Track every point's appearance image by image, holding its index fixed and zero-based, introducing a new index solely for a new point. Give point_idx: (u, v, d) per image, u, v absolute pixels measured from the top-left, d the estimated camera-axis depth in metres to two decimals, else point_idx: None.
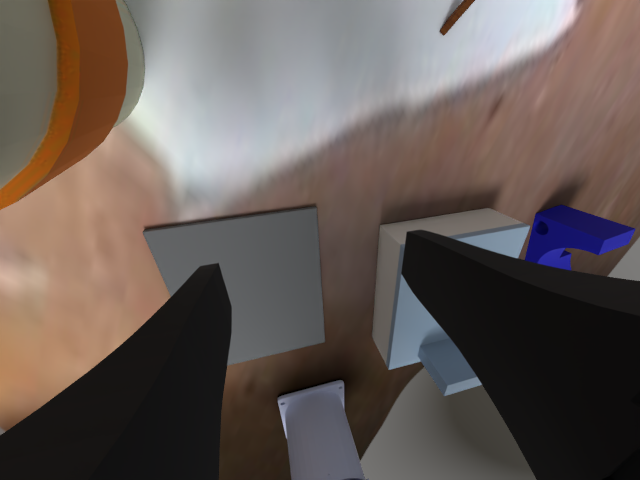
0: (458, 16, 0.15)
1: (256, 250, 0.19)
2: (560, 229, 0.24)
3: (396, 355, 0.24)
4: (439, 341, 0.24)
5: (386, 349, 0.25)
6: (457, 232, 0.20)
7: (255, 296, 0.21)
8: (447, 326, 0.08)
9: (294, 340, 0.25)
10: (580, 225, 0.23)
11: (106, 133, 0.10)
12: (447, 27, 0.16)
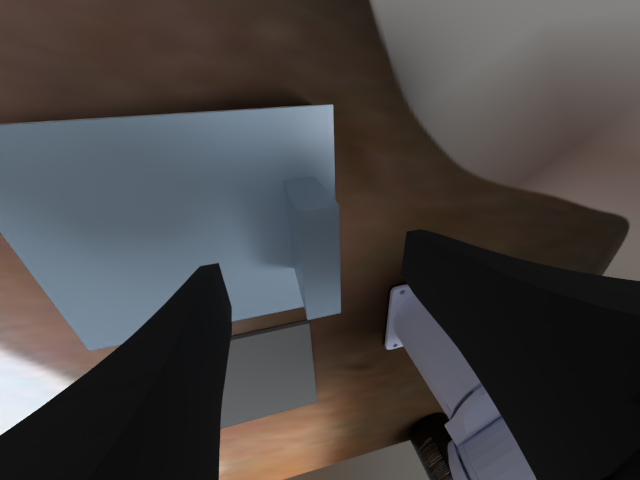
0: None
1: None
2: None
3: None
4: (289, 237, 0.13)
5: None
6: None
7: (231, 386, 0.23)
8: (447, 326, 0.08)
9: (297, 350, 0.23)
10: None
11: None
12: None
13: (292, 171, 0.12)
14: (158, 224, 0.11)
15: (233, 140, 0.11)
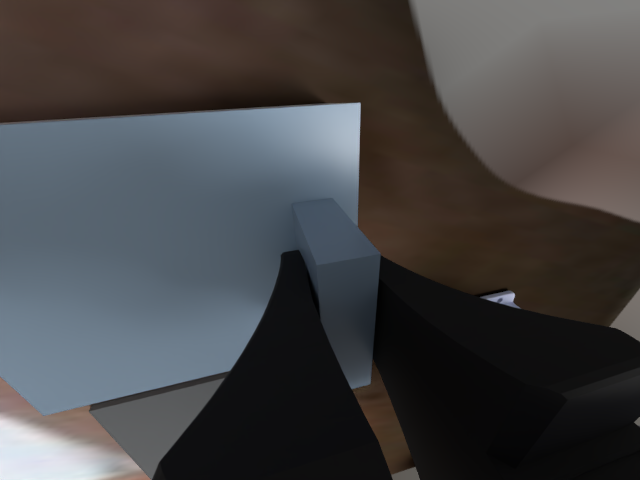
0: None
1: (163, 436, 0.19)
2: None
3: None
4: None
5: None
6: None
7: None
8: None
9: None
10: None
11: None
12: None
13: (303, 191, 0.09)
14: (124, 263, 0.09)
15: (224, 152, 0.08)
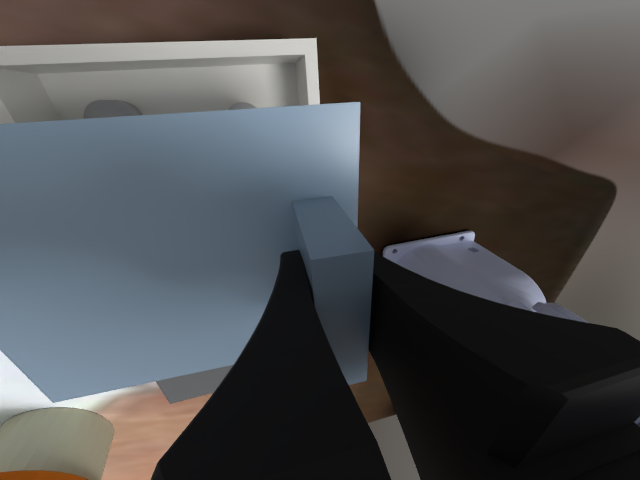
0: None
1: None
2: None
3: None
4: None
5: None
6: None
7: None
8: (370, 345, 0.08)
9: None
10: None
11: (45, 477, 0.19)
12: None
13: (303, 189, 0.09)
14: (130, 257, 0.09)
15: (226, 149, 0.08)
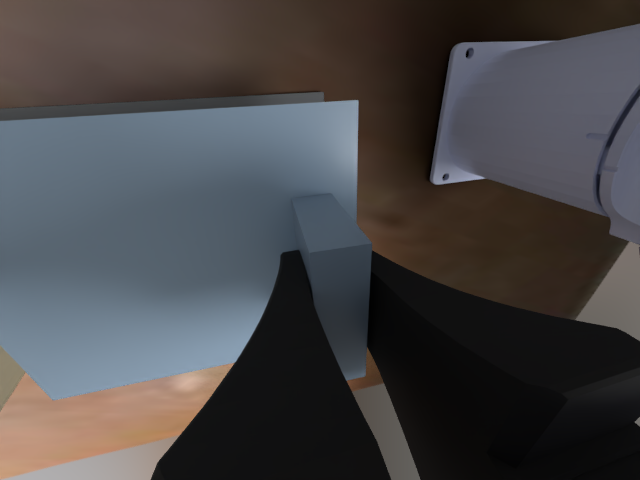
0: None
1: None
2: None
3: None
4: None
5: None
6: None
7: None
8: (370, 345, 0.08)
9: None
10: None
11: None
12: None
13: (303, 186, 0.09)
14: (131, 253, 0.09)
15: (226, 147, 0.08)
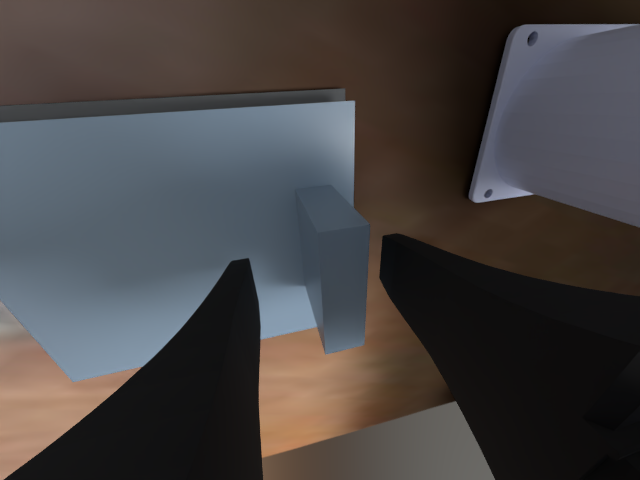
0: None
1: None
2: None
3: None
4: (300, 253, 0.11)
5: None
6: None
7: None
8: (420, 333, 0.08)
9: None
10: None
11: None
12: None
13: (305, 178, 0.10)
14: (150, 241, 0.10)
15: (237, 143, 0.09)
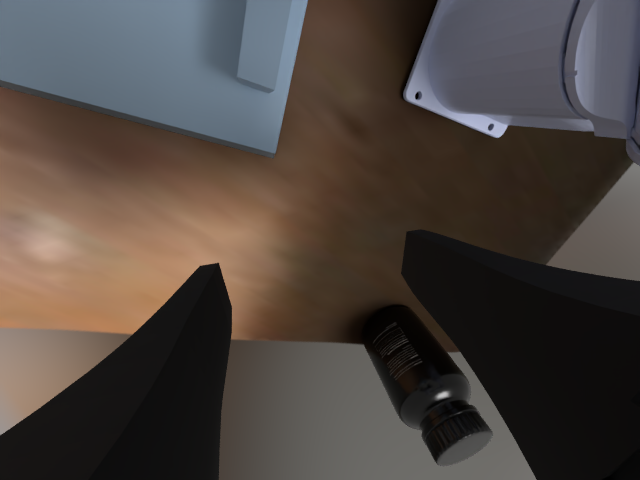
0: None
1: None
2: None
3: (243, 133, 0.14)
4: None
5: None
6: None
7: None
8: (447, 326, 0.08)
9: None
10: None
11: None
12: None
13: None
14: None
15: None
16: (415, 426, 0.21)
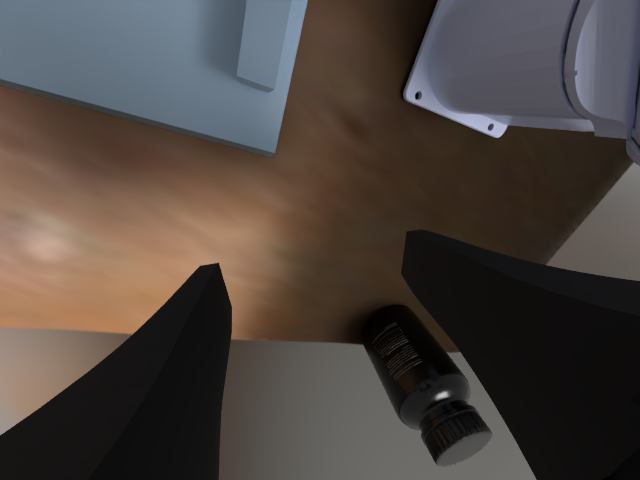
0: None
1: None
2: None
3: (243, 133, 0.14)
4: None
5: None
6: None
7: None
8: (447, 326, 0.08)
9: None
10: None
11: None
12: None
13: None
14: None
15: None
16: (414, 426, 0.21)
